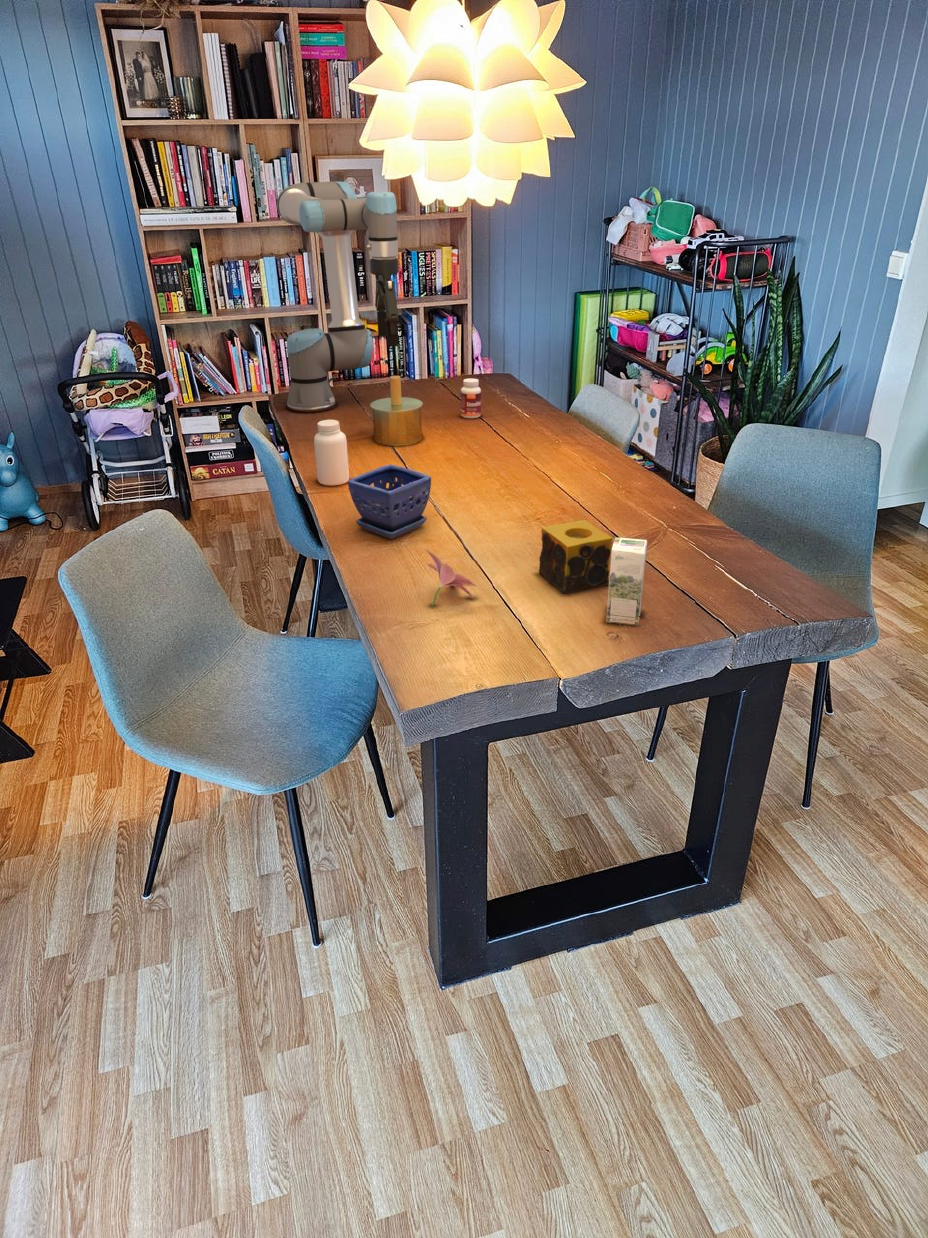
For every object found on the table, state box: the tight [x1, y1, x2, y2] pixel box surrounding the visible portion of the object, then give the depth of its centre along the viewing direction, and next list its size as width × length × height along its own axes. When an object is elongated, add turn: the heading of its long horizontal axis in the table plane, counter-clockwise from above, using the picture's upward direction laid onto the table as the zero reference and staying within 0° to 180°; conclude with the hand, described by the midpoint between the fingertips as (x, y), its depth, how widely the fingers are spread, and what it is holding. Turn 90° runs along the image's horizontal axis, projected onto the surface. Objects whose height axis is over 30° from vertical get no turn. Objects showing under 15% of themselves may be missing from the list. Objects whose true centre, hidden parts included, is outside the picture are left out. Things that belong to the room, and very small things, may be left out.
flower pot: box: [347, 463, 432, 540], centre depth 191 cm, size 13×13×12 cm
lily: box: [424, 548, 478, 607], centre depth 162 cm, size 12×12×10 cm
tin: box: [371, 407, 423, 447], centre depth 249 cm, size 14×14×10 cm
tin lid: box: [369, 375, 424, 413], centre depth 245 cm, size 15×15×9 cm
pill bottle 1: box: [313, 419, 350, 487], centre depth 218 cm, size 8×8×15 cm
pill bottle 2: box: [460, 377, 482, 419], centre depth 268 cm, size 6×6×11 cm
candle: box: [538, 519, 613, 594], centre depth 168 cm, size 10×10×10 cm
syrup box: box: [605, 536, 648, 627], centre depth 153 cm, size 6×6×14 cm
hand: (387, 341), depth 240 cm, fingers open, 13 cm apart
